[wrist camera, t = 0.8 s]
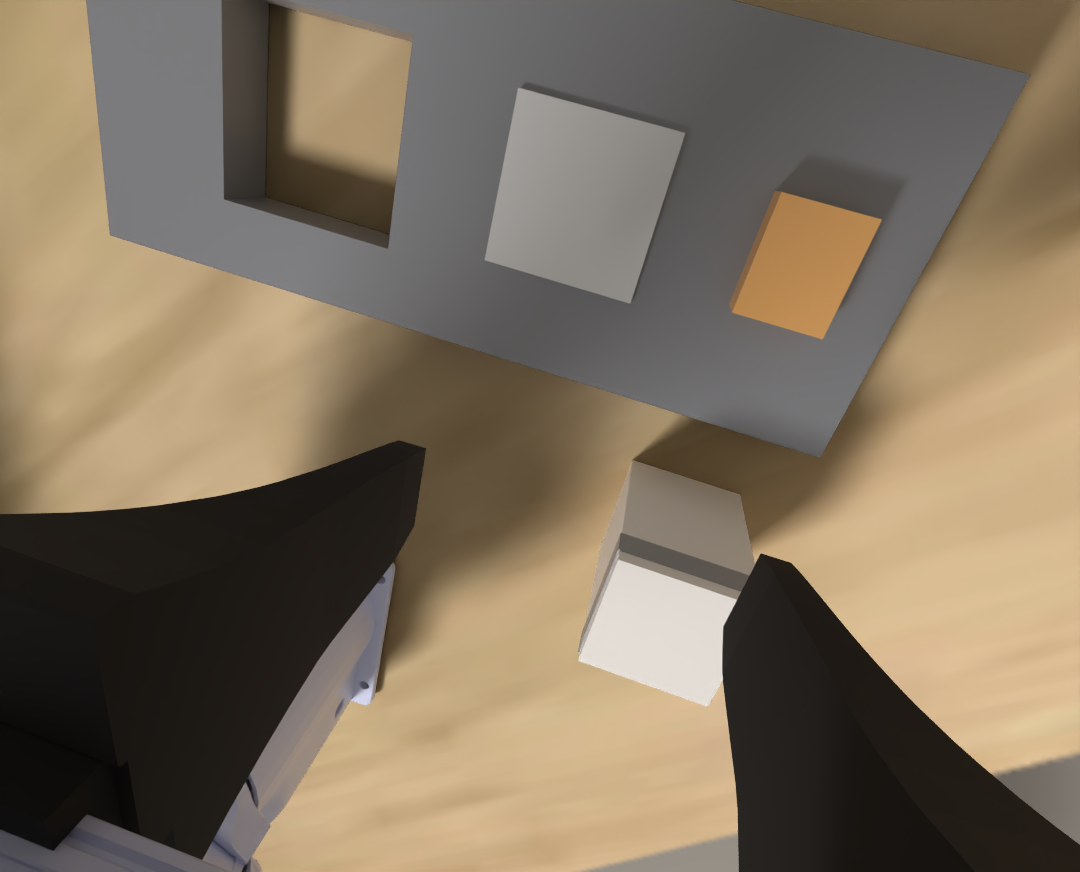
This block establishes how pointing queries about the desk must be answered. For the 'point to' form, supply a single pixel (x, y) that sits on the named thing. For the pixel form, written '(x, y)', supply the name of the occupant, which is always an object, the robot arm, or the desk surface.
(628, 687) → the desk surface
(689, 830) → the desk surface
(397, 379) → the desk surface
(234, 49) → the grey slab
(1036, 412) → the desk surface
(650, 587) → the block
